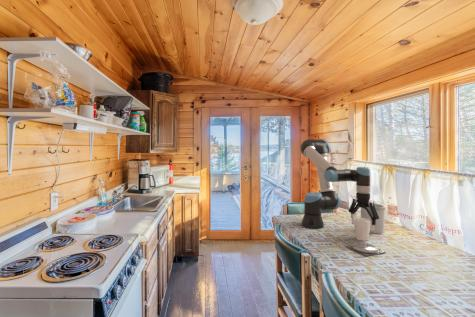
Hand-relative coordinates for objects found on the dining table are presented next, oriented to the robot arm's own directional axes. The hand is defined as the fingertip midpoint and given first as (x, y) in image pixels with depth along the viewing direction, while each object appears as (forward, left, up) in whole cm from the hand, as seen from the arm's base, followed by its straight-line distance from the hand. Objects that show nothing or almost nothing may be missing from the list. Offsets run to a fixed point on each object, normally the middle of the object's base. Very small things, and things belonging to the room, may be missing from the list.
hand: (362, 227), depth 150 cm
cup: (0, 0, -8) cm, 8 cm away
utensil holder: (-10, +20, -8) cm, 24 cm away
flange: (+13, -12, -7) cm, 19 cm away
